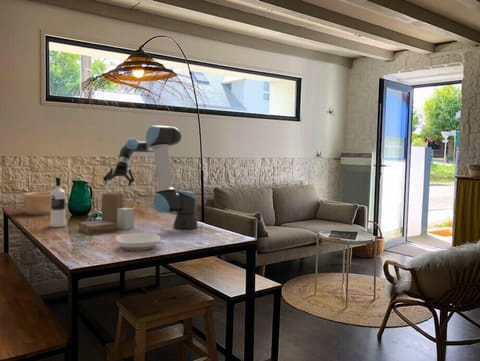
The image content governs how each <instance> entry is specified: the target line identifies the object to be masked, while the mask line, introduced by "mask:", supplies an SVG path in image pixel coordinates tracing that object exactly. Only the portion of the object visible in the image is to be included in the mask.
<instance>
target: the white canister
mask: <svg viewBox="0 0 480 361" xmlns="http://www.w3.org/2000/svg"><path fill="white" fill-rule="evenodd" d="M134 228H135V208H134V207H133V208H131V207H123V208H119V209H117V229H119V230H130V229H134Z"/></svg>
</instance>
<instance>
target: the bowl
mask: <svg viewBox="0 0 480 361" xmlns="http://www.w3.org/2000/svg"><path fill="white" fill-rule="evenodd" d="M161 240H162V239H161V236H159V234H156V233H154V232H151V233H150V232H138V233H137V232H135V233H133V232H132V233H121V234H118V235H116V236H115V241H116V242H117V243H118V244H119V245H121V247H123V248H124V249H125V251H128V250H144V251H147V250H146V249H150V250H151V249H153V248H154V247H155V246H156V245H157V244H158V243H159V242H160V241H161Z"/></svg>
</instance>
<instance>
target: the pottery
mask: <svg viewBox="0 0 480 361" xmlns="http://www.w3.org/2000/svg"><path fill="white" fill-rule="evenodd" d="M50 193H51V191H31V192H25V193H23V194H22V197H24V200H25V206H26V211H27V215H30V216H45V215H51V194H50Z"/></svg>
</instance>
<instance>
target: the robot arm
mask: <svg viewBox="0 0 480 361" xmlns="http://www.w3.org/2000/svg"><path fill="white" fill-rule="evenodd" d="M181 140H182V133H181V131H180V129H178V128H177V127H176V126H172V125H171V126H168V125H150V127H148V129H147V131H146V135H145V141H142V140H141V141H139V140H138V139H136V138H134V137H130V138H129V139H127V141H126V142H125V144H124V145H123V146H121V148H120V151H119V155H118V159H117V162H116V166H115V169H113V168H110V170H109V171H108V173H106V175H105V176H104V177H103V182H105V183H104V185H105V190H108V188H109V186H110V181H111V180H112V179H114V178H115V177H124V178H125V179H126V180H127V182H126V183H127V184H126V191H129V187H131V184H132V183H135V178H134V175H133V174H132V170H131V169H129V170H128V168H129V164H130V159H131V156H132V155H133V154H134V153H154V154H153V155H154V162H155V172H156V179H157V190H156V192H155V194H154V196H153V200H152V202H153V206H154V209H155V210H156V212H158V213H160V214H167V213H175V214H176V215H175V218H174V221H173V224H172V225H173V228H174V229H178V230H193V229H192V228H194V229H197V228H198V222H197V218H196V200H197V199H196V193H195V192H193V191H190V190H189V191H188V190H179V189H178V190H176V189H175V187H173V181H172V173H171V164H170V163H171V162H170V156H169V149H170V147H171V146H174V145H177V144H179V143H180V142H181ZM128 174H129V175H128ZM196 227H197V228H196Z"/></svg>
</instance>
